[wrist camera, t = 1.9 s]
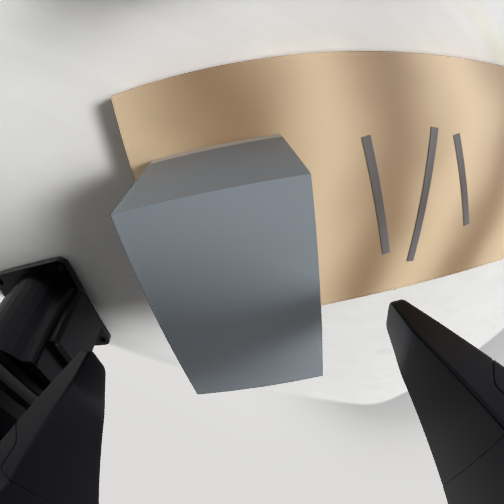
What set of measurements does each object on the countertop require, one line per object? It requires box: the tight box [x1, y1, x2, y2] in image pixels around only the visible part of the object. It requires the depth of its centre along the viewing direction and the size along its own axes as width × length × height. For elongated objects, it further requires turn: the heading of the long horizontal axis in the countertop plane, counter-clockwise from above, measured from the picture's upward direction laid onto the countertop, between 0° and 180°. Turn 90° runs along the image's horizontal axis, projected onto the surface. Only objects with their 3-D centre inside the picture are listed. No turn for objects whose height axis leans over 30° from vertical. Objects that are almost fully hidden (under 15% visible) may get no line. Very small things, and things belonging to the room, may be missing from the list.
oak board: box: [111, 51, 504, 305], centre depth 13 cm, size 20×12×1 cm, turn 100°
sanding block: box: [111, 133, 323, 394], centre depth 11 cm, size 5×8×5 cm, turn 10°
